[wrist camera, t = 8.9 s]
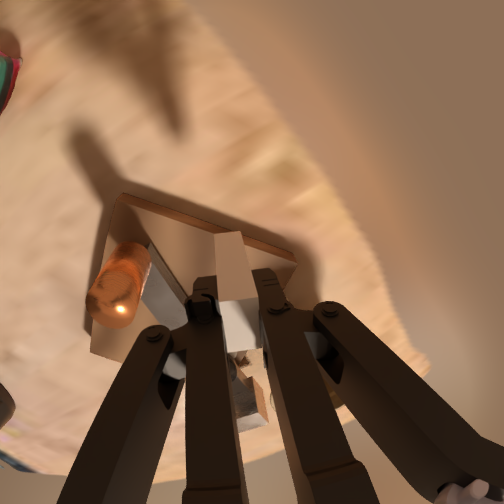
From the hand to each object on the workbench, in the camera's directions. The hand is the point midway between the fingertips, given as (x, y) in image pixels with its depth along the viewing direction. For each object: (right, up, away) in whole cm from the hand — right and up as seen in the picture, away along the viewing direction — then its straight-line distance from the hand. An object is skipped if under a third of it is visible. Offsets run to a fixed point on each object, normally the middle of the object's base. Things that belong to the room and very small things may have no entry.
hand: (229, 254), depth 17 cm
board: (-6, -5, +11) cm, 14 cm away
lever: (-4, -8, +10) cm, 13 cm away
